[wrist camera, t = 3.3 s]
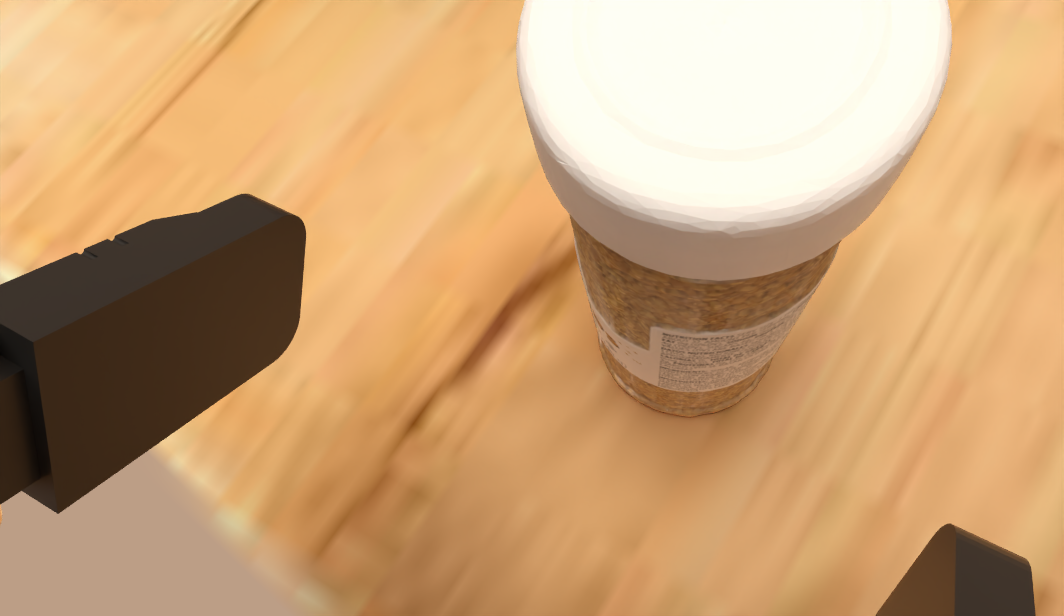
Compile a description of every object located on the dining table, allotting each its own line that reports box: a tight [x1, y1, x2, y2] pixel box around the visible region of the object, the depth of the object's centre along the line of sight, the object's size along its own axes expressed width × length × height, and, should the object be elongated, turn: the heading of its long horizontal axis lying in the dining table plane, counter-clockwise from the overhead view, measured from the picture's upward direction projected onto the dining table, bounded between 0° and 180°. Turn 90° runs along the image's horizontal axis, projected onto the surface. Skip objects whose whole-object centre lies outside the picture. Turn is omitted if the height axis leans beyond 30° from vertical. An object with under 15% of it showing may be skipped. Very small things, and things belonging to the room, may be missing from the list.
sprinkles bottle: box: [516, 0, 952, 417], centre depth 15 cm, size 5×5×13 cm
